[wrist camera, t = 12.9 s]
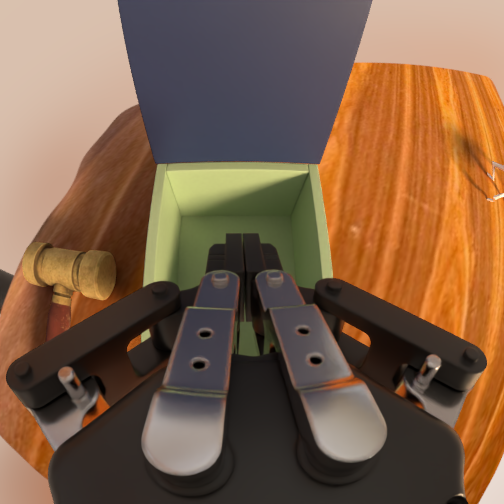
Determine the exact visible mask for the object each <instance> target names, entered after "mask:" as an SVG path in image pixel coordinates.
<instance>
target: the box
mask: <svg viewBox="0 0 504 504" xmlns="http://www.w3.org/2000/svg"><path fill="white" fill-rule="evenodd" d="M226 233H242V245H243V233H259V237H260V242H261V243H270V244H272V245H273V246H274V247H275V248H276V249H277V252H278V255H279V259H280V261H281V265H282V268H283V271H284V272H287V273H289V274H290V275H291V276H292V277H293V279H294V281H295V283H296V285H297V286H300V287H304V288H311V289H315V284H316V282H317V281H319V280H321V279H324V278H333V273H332V263H331V254H330V246H329V238H328V230H327V223H326V215H325V209H324V202H323V195H322V189H321V183H320V177H319V171H318V166H317V165H315V164H308V165H307V164H296V163H271V162H197V163H172V164H158V165H157V170H156V175H155V182H154V188H153V194H152V201H151V209H150V216H149V224H148V233H147V242H146V253H145V264H144V278H143V287H144V286H146V285H148V284H150V283H153V282H157V281H170V282H173V283H175V284H177V285H178V287H179V289H180V291H181V290H186V289H190V288H193V287H196V286H198V285H199V284H200V282H201V279H202V277H203V276H204V275H205V271H206V265H207V259H208V253H209V248H210V247H211V246H212V245H214V244H225V242H226ZM149 337H151V336H150V332H149V329H148V330H146V331H145V332H143V333H141V343H142V342H143V341H145V340H146V339H148V338H149ZM239 354H240V355H246V356H258V355H257V350H256V345H255V341H254V329H253V327H252V322H246V316H245V302H244V322H240V345H239Z"/></svg>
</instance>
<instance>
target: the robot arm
mask: <svg viewBox="0 0 504 504" xmlns="http://www.w3.org/2000/svg"><path fill="white" fill-rule="evenodd" d="M244 302H245V316H246V322H252V327H253V329H254V341H255V345H256V350H257V355H258V356H246V355H240V354H239V345H240V322H244ZM344 322H347V323H349V324H350V325H352V326H354V327H356V328H358V329H360V330H361V331H363V332H365V333H366V334H367V335H368V336H369V337H370V340H371V345H370V348H369V347H368V346H366V345H364V344H362V343H361V342H359V341H357V340H355V339H354V338H352V337H350V336H348V335H347V334H345V333H343V332H342V329H343V326H344ZM148 329H149V332H150V336H151V337H149V338H148V339H146V340H145V341H143V342H142V343H140V344H139V345H137V346H136V347H134V348H133V349H131V350H130V351H128V352H127V346H128V344H129V343H130V341H131V340H132V339H134V338H135V337H137V336H138V335H140V334H141V333H143V332H145V331H146V330H148ZM486 366H487V359H486V357H485V355H484V353H483V352H482V351H481V350H480V349H479V348H478V347H477V346H475V345H473V344H471V343H469V342H467V341H465V340H463V339H461V338H459V337H457V336H455V335H453V334H451V333H449V332H447V331H445V330H443V329H441V328H439V327H437V326H435V325H433V324H431V323H429V322H427V321H425V320H423V319H421V318H419V317H417V316H415V315H413V314H411V313H409V312H407V311H405V310H403V309H401V308H399V307H397V306H395V305H393V304H391V303H388V302H386V301H384V300H382V299H380V298H378V297H376V296H374V295H372V294H370V293H368V292H366V291H364V290H362V289H360V288H357V287H355V286H353V285H351V284H349V283H347V282H345V281H343V280H340V279H336V278H324V279H321V280H319V281H317V282H316V284H315V289H311V288H304V287H300V286H297V285H296V283H295V281H294V279H293V277H292V276H291V275H290V274H289V273H287V272H284V271H283V268H282V265H281V261H280V259H279V255H278V252H277V249H276V248H275V247H274V246H273V245H272V244H270V243H261V242H260V237H259V233H243V245H242V233H226V242H225V244H214V245H212V246H211V247H210V248H209V253H208V259H207V265H206V271H205V275H204V276H203V277H202V279H201V282H200V284H199V285H198V286H196V287H193V288H190V289H186V290H181V291H180V289H179V287H178V285H177V284H175V283H173V282H170V281H157V282H153V283H150V284H148V285H146V286H144V287H143V288H141V289H139V290H137V291H135V292H134V293H132V294H130V295H128V296H126V297H125V298H123V299H121V300H119V301H117V302H116V303H114V304H112V305H110V306H108V307H107V308H105V309H103V310H101V311H99V312H98V313H96V314H94V315H92V316H91V317H89V318H87V319H85V320H84V321H82V322H80V323H78V324H77V325H75V326H73V327H71V328H70V329H68V330H66V331H64V332H63V333H61V334H59V335H57V336H56V337H54V338H52V339H51V340H49V341H47V342H45V343H44V344H42V345H40V346H39V347H37V348H35V349H33V350H32V351H30V352H28V353H27V354H25V355H23V356H22V357H20V358H18V359H17V360H15V361H14V362H13V363H12V364H11V365H10V367H9V368H8V371H7V374H6V381H7V384H8V385H9V387H10V388H11V389H12V391H13V392H14V393H15V395H16V396H17V397H18V398H19V400H20V401H21V402H22V403H23V405H24V406H25V407H26V408H27V410H28V411H29V412H30V413H31V414H32V415H33V417H34V418H35V419H36V421H37V423H38V425H39V426H40V428H41V430H42V432H43V433H44V435H45V437H46V438H47V440H48V442H49V443H50V445H51V446H52V448H53V450H54V451H55V452H54V454H53V456H52V458H51V460H50V464H49V468H48V482H49V487H50V490H51V494H52V497H53V501H54V504H468V502H467V500H466V497H465V490H464V462H465V454H464V448H463V444H462V441H461V439H460V437H459V436H458V434H457V433H456V431H455V430H454V429H453V428H454V426H455V423H456V421H457V419H458V416H459V414H460V411H461V409H462V406H463V403H464V401H465V398H466V396H467V395H468V393H469V392H470V391H471V390H472V388H473V387H474V384H475V382H476V381H477V380H478V378H479V377H480V375H481V374H482V373H483V371H484V370H485V368H486Z"/></svg>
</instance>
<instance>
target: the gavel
mask: <svg viewBox="0 0 504 504" xmlns="http://www.w3.org/2000/svg"><path fill="white" fill-rule="evenodd" d="M22 268H23V273H24V276H25V278H26V280H27V281H28V282H29V283H31V284H34V285H38V286H42V287H46V286H48V285H50V286H54V288H53V291H54V295H53V296H52V302H51V306H50V309H49V313H48V321H47V331H46V342H47V341H49V340H51V339H52V338H54V337H56V336H57V335H59V334H61V333H63V332H64V331H66V330H68V329H70V323H71V300H72V299H70V298H71V296H72V295H73V291H76V292H82V294H83V295H84V296H86V297H89V298H94V299H98V300H106V299H107V298H108V297H109V296H110V294H111V292H112V290H113V288H114V285H115V280H116V263H115V260H114V257H113V255H112V254H111V253H110V252H106V251H99V250H90V251H88V252H87V253H86V252H82V251H75V250H69V249H62V248H55V247H53V246H52V245H51V244H49V243H42V242H33V243H32V244H30V245H29V246H28V248H27V249H26V251H25V253H24V257H23V262H22Z"/></svg>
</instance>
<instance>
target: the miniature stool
mask: <svg viewBox="0 0 504 504" xmlns="http://www.w3.org/2000/svg"><path fill="white" fill-rule="evenodd" d="M492 166H493V177H492V176H491V175H490V174H489V173H487V175H488V176H489V177H490V178H491V179H492V180H493V181H494V171H495V167H496V168H498V169H500V170H502V171H504V165H501V164H498V163H496V162H494V161H492ZM503 196H504V193H502V194H498V195H495V196H494V197H493V199H490V198H487V200H488V201H492V202H494V201H495V200H496V199H499V198H501V197H503Z"/></svg>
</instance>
